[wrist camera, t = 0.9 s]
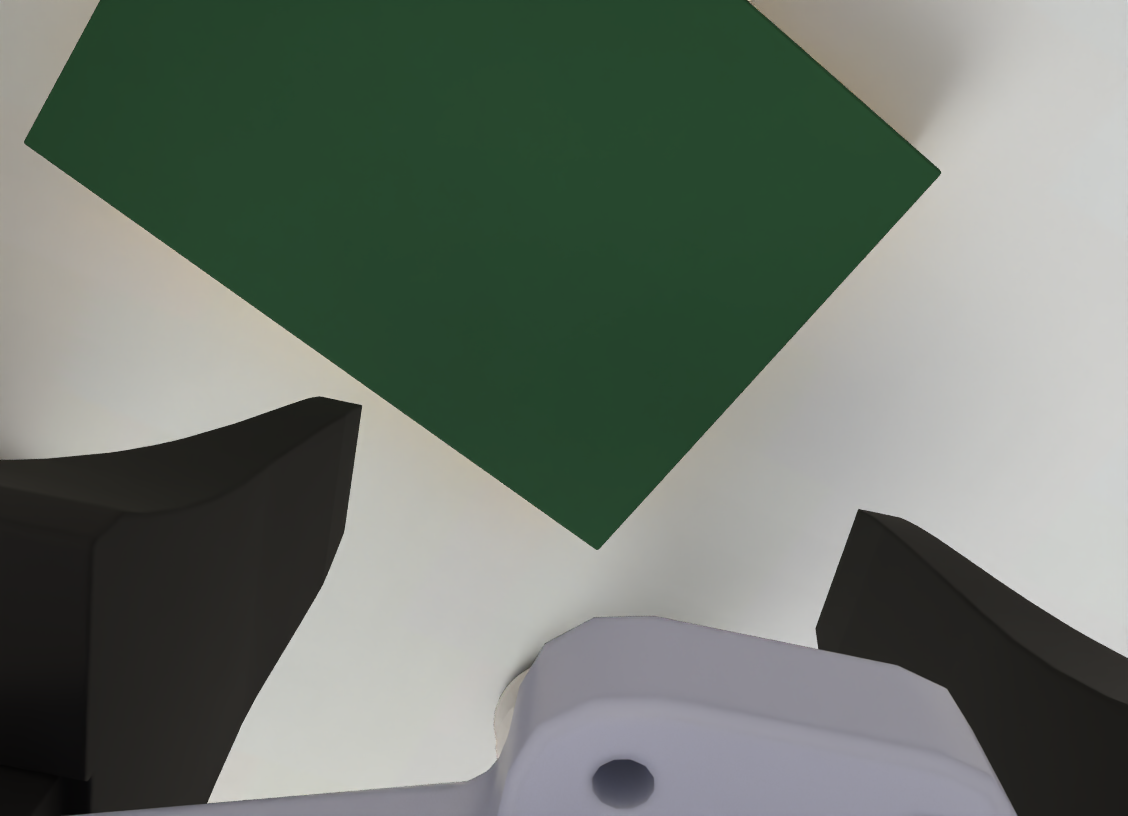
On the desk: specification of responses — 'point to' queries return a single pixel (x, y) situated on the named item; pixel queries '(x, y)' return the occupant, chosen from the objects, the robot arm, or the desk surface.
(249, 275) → the sponge
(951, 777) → the robot arm
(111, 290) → the desk surface
